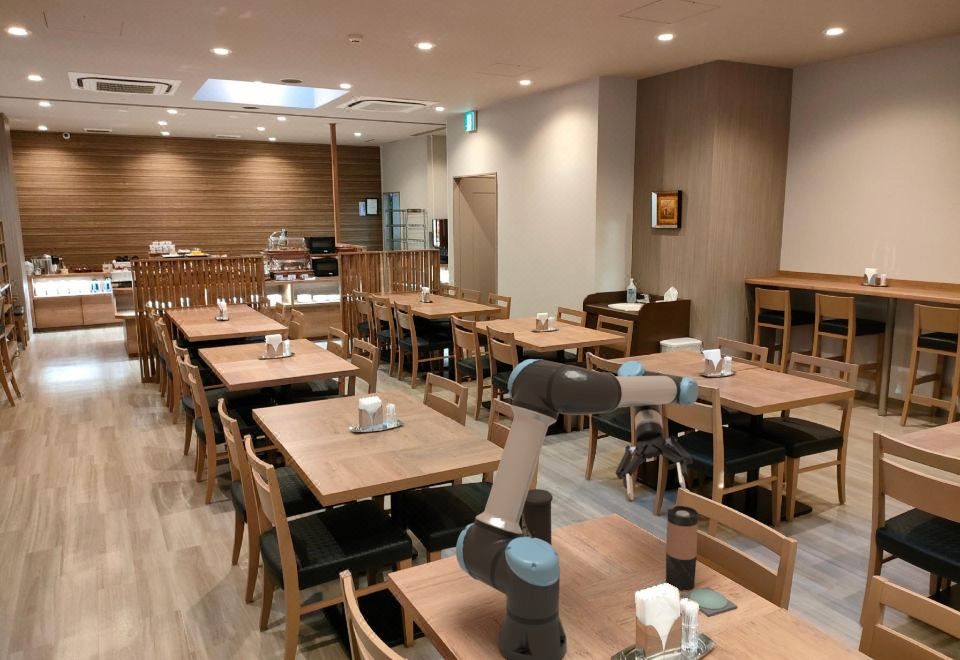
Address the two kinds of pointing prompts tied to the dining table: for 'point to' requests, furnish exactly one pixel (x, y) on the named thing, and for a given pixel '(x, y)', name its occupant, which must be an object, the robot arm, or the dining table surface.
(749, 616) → the dining table surface
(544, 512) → the container
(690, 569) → the travel mug
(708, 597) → the coaster
